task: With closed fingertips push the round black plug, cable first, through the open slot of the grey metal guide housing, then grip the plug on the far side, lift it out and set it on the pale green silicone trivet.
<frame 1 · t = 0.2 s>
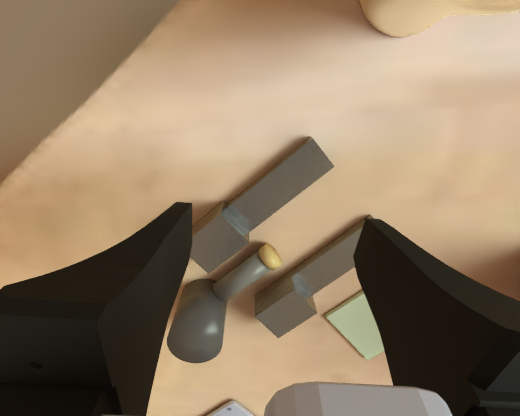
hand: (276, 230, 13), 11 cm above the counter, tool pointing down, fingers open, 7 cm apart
guide housing: (252, 263, 26), on the counter
plug: (204, 298, 27), on the counter
trivet: (382, 314, 28), on the counter
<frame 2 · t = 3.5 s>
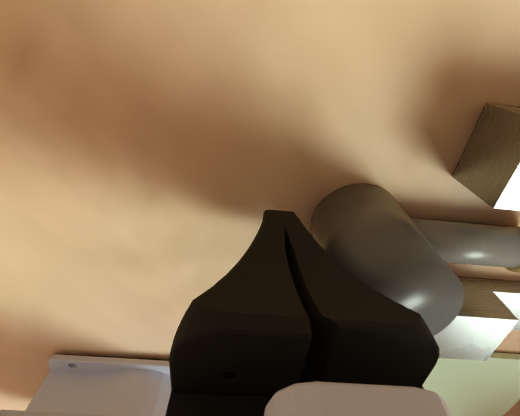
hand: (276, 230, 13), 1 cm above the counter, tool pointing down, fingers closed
guide housing: (468, 233, 14), on the counter
plug: (354, 223, 14), on the counter, touching gripper
trivet: (465, 383, 21), on the counter
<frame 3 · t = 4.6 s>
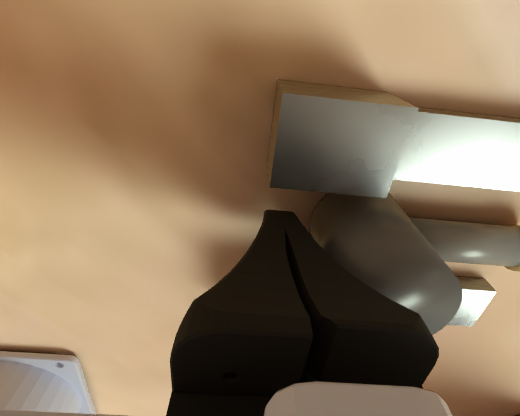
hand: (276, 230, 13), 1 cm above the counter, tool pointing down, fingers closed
guide housing: (304, 218, 14), on the counter
plug: (353, 222, 14), on the counter, touching gripper
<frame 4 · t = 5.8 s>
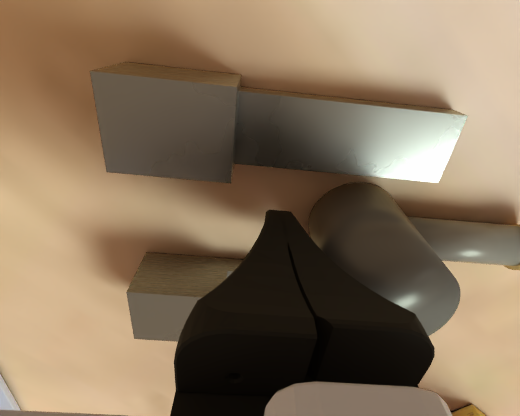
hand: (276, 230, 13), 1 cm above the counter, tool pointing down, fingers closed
guide housing: (187, 208, 14), on the counter
plug: (352, 221, 14), on the counter, touching gripper
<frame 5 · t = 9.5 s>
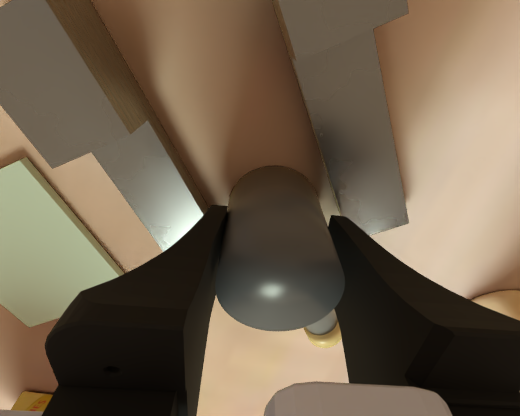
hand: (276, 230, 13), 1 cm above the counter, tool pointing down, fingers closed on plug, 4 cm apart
guide housing: (192, 26, 10), on the counter
beer glass: (488, 323, 18), on the counter
plug: (273, 207, 14), on the counter, touching gripper
trivet: (30, 253, 15), on the counter
candy box: (90, 409, 23), on the counter
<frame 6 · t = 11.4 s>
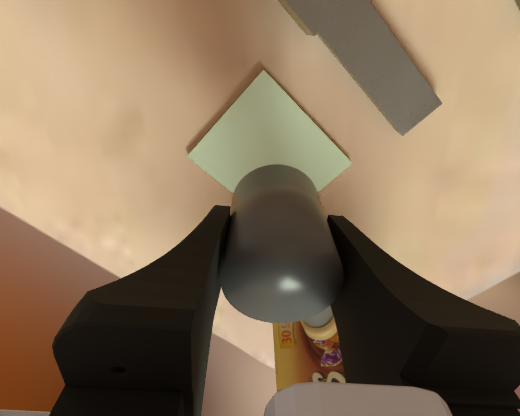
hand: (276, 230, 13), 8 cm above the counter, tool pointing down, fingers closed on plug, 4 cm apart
plug: (275, 204, 14), point 6 cm above the counter, touching gripper
trivet: (270, 157, 20), on the counter
candy box: (321, 307, 27), on the counter
when the fingers open (3 cm above the counter, at t = 12.8 s): plug stays where it is, resting on trivet.
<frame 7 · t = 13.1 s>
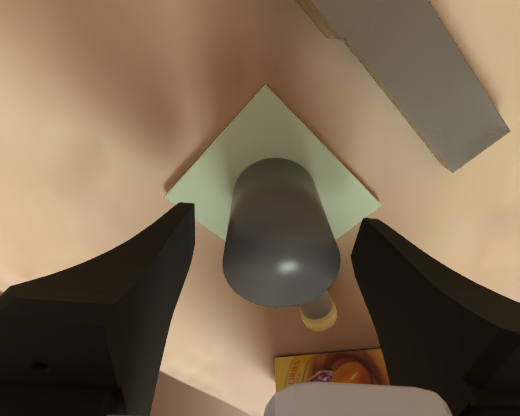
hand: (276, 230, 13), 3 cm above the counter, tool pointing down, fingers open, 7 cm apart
plug: (274, 196, 15), resting on trivet
trivet: (273, 197, 15), on the counter
candy box: (334, 365, 23), on the counter
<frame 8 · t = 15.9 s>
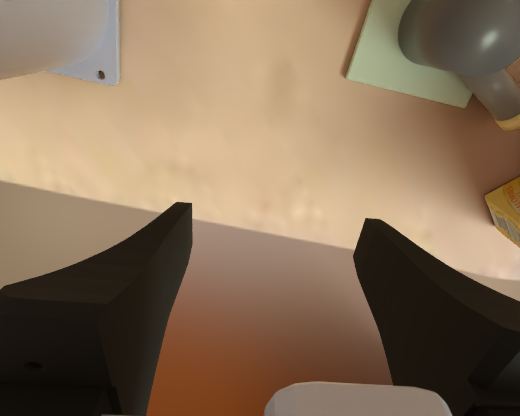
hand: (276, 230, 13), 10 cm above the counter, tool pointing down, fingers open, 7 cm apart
plug: (434, 26, 17), resting on trivet
trivet: (431, 30, 18), on the counter
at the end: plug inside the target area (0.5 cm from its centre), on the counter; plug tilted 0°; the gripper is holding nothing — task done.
